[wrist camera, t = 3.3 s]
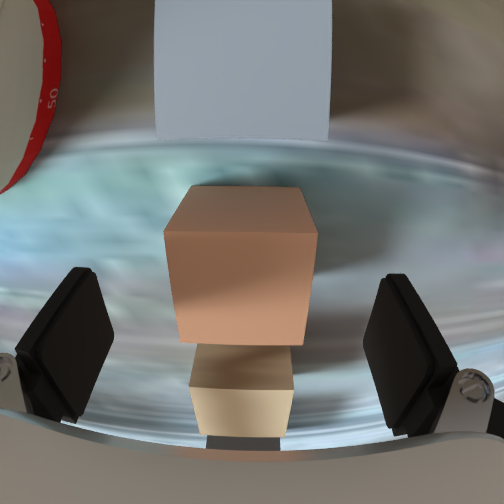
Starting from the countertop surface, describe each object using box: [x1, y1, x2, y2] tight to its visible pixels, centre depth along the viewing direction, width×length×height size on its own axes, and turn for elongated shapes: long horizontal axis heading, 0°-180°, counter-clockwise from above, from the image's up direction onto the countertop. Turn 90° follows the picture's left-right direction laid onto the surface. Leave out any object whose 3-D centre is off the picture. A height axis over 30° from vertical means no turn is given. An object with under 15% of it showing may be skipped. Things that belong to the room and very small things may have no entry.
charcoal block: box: [206, 435, 280, 451], centre depth 21 cm, size 5×5×5 cm
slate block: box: [154, 0, 332, 141], centre depth 10 cm, size 5×5×5 cm
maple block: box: [189, 343, 294, 437], centre depth 17 cm, size 5×5×5 cm
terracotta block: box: [163, 186, 318, 345], centre depth 14 cm, size 5×5×5 cm
